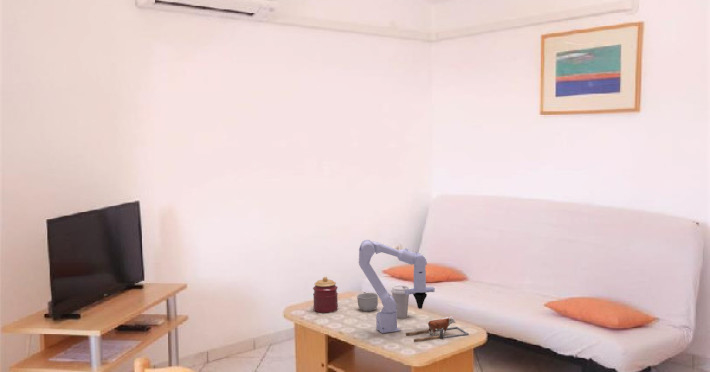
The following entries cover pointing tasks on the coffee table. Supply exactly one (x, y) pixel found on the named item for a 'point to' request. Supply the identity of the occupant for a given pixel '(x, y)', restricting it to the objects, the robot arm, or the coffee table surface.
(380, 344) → the coffee table surface
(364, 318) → the coffee table surface
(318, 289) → the canister
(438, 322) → the bull figurine
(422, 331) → the pair of brown bars
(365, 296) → the teacup
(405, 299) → the coffee cup
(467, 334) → the frame
